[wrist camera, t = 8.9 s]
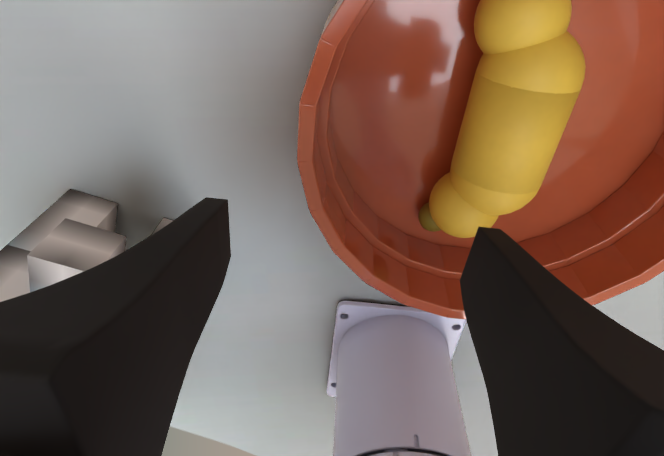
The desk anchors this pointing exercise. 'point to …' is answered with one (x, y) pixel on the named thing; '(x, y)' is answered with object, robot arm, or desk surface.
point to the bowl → (441, 137)
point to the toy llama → (62, 244)
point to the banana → (509, 114)
